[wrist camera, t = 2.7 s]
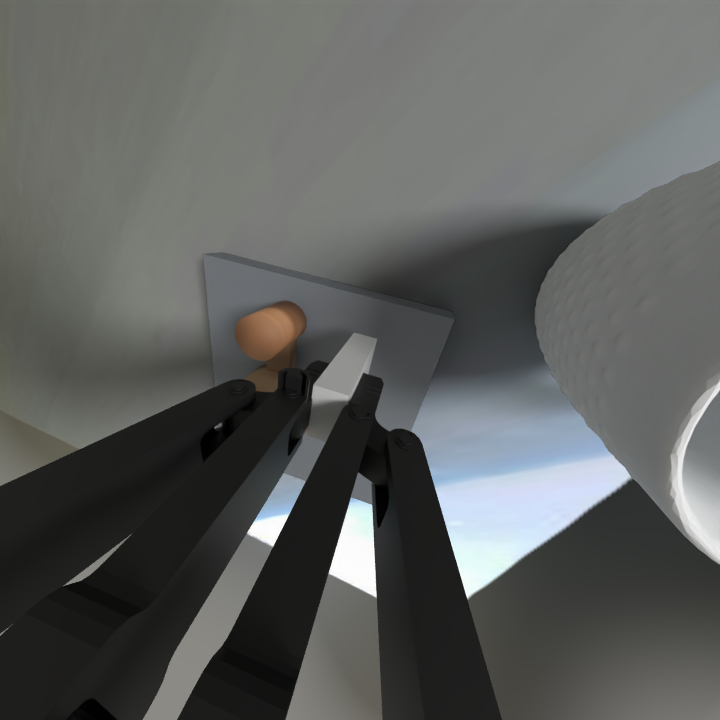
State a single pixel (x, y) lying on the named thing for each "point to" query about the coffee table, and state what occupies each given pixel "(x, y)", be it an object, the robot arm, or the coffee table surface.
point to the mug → (647, 344)
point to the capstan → (271, 341)
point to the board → (328, 338)
